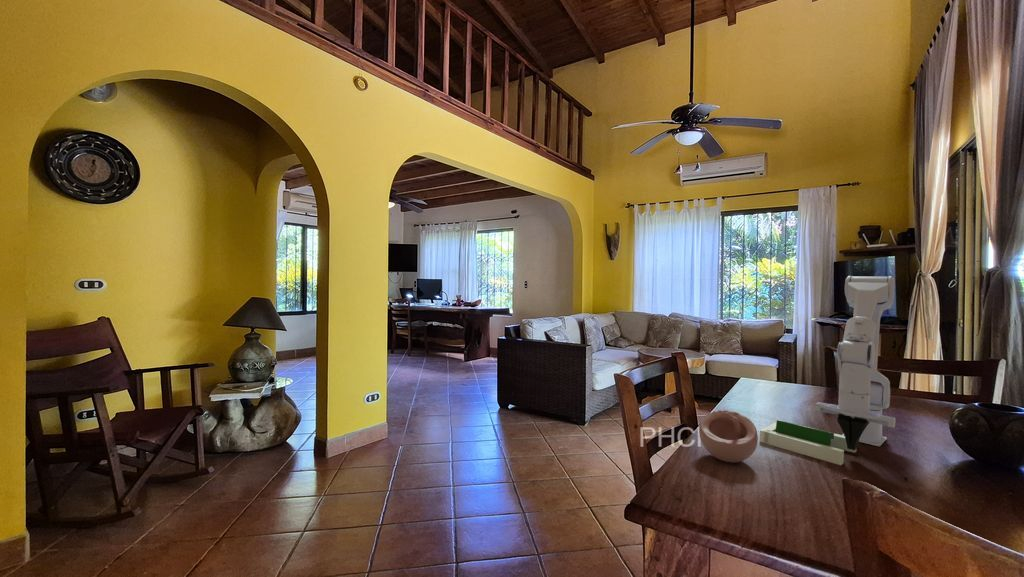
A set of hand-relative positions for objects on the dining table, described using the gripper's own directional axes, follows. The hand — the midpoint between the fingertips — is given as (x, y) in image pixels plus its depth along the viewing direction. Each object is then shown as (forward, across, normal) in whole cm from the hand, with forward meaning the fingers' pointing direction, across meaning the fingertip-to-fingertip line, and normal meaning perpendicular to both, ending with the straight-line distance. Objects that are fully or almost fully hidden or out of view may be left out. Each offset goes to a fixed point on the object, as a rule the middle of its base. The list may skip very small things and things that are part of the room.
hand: (852, 448), depth 98 cm
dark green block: (+3, -9, -1) cm, 10 cm away
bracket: (+2, -8, 0) cm, 9 cm away
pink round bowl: (+3, -17, -26) cm, 31 cm away
